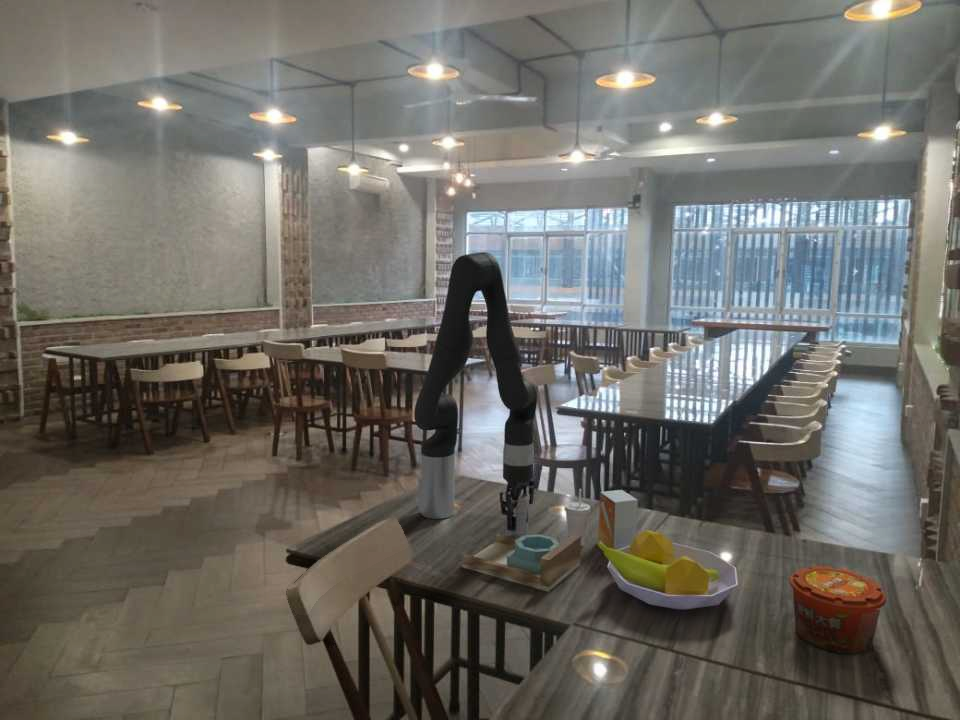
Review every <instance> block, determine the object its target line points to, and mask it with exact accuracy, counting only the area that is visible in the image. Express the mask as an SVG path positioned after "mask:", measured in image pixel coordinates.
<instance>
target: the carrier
mask: <svg viewBox="0 0 960 720" xmlns="http://www.w3.org/2000/svg"><path fill="white" fill-rule="evenodd" d="M559 544H560V543H559V542H558V540H557V539H556V537H554V536H553V537H552V536H548V535H544V534H528V535H525V536H522V537H520V538H519V539H517V540H516V541H515V551H513V552H512V553H510V554H509V555H508V556H507V566H511V567H514V568H518V569H522V570H525V571H529V572H533V573H536V574H540V566H541V558H542V557H543V556H544V555H546V554H547V553H548V552H550V551H551V550H552V549H554V548H555V547H556V546H558V545H559Z"/></svg>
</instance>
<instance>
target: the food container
mask: <svg viewBox="0 0 960 720" xmlns="http://www.w3.org/2000/svg"><path fill="white" fill-rule="evenodd" d="M788 583H789V585H790V586H791V588H792V597H793V611H794V612H793V613H794V627H795V632H796V634H797V635H798V636H799V637H800V638H801V639H802V640H803V641H805V642H806V643H808V644H809V645H812V646H814V647H817V648H818V649H821V650H825V651H828V652H831V653H832V652H833V653H837V654H844V655H852V654H853V655H854V654H861V653H864V652H867V651H868V650H870V649H871V648H872V646H873V642H874V638H875V634H876V629H877V626H878V625H877V624H878V622H879V617H880V612H881V610H882V609H883V608H884V606H885V604H886V602H887V596H886V593H885V591H884V590H883V589H882V588H881V587H880V585H879V584H878V583H877V582H876V581H874V580H873V579H871V578H865V577H863V575H862V574H860V573H858V572H855V571H852V570H848V569H844V568H838V569H835V568H832V567H831V566H825V565H812V566H809V568H804V567H802V568H798V569H797V570H796V571H795V572H793V573H792V574H791V575H790V577H789V581H788Z"/></svg>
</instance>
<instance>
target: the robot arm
mask: <svg viewBox="0 0 960 720" xmlns="http://www.w3.org/2000/svg"><path fill="white" fill-rule="evenodd" d="M477 292H481V294H482V297H483V299H484V302H485V305H486V314H487V315H486V330H485V335H486V337H485V338H486V345H487V349H488V352H489V355H490V357H491V360H492V363H493V366H494V369H495V374H496V375H495V376H496V383H497V389H498V394H499V397H500V399H501V402H502V404H503V405H504V406H505V407H506V409H508V410H509V415H508V417H507V419H506V420H505V424H504V443H503V444H504V445H503V452H502V478H503V480H505V481H506V483H507V484H506V485H507V486H506V488H505V489H506V490H505V491H504V492H503V491H501V492H500V493H499V499H500V500H499V502H500V511H501V515H502V516H506V526H507V529H508V530H510V531H515V530H516V513H517V508H518V507H519V506H520V498H521V497H522V496H524V495H525V496H527V495H528V510H529V509H530V505H533V503H534V496H535V487H536V481H535V480H533V479H534V466H535V465H534V464H535V463H534V461H535V459H534V458H535V457H534V456H535V451H534V421H535V417H536V410H537V404H538V390H537V387H536V385H535V383H534V382H532V380H530V379H528V378H523V374H522V367H523V363H524V361H523V357H522V354H521V351H520V349H519V345H518V343H517V339H516V336H515V334H514V331H513V327H512V323H511V319H510V313H509V307H508V303H507V302H508V301H507V298H506V292H505V287H504V281H503V275H502V270H501V266H500V264H499V262H498V260H497V258H496V257H495V256H494V255H493V254H491V253H490V252H487V251H482V252H474V253H469V254H468V253H467V254H463V255H460V256H458V257H457V258H456V259H455V260H454V262H453V264H452V267H451V270H450V275H449V279H448V286H447V293H446V300H445V305H444V310H443V313H442V317H441V322H440V326H439V329H438V332H437V336H436V339H435V342H434V346H433V349H432V354H431V355H432V356H431V358H430V359H431V360H430V363H429V366H428V369H427V372H426V375H425V379H424V381H423V384H422V386H421V389H420V391H419V394H418V397H417V399H416V402H415V406H414V412H413V413H414V414H413V415H414V417H413V418H414V423H415V425H416V426H417V428H418V429H419V430H421V431H434V430H435V431H434V433H433V434H432V435H431V436H430V437H428V438H426V439H425V440H423V441H422V442H421V444H420V478H419V479H418V481H417V499H418V500H417V506H418V508H417V510H418V511H417V513H418V514H421V516H423V517H424V518H427V519H433V520H436V519H437V520H439V519H447V518H451V517H452V516H454V515H455V507H456V506H455V500H456V499H455V495H456V494H455V492H456V491H455V487H456V486H455V481H456V480H455V478H456V477H455V474H456V473H455V472H456V471H455V468H456V465H455V464H456V463H455V461H456V460H455V456H456V455H455V452H456V450H455V449H456V445H457V442H458V423H459V409H458V405H457V401H456V399H455V398H454V396H453V395H451V394H448V393H447V394H446V393H444V394H443V392H444V390H445V389H446V388H447V386H448V385H449V384H450V383H451V382H452V381H453V379H454V378H456V377H457V376H458V375H459V373H460V372H461V371H462V370H463V368H464V367H465V366H466V364H467V362H468V359H469V356H470V355H471V354H470V353H471V351H472V346H473V343H474V334H473V328H472V324H471V321H470V310H471V306H472V302H473V300H474V297H475V294H476V293H477ZM511 500H517V501H516V503H512V502H511ZM512 506H513V507H514V508H513V511H512Z"/></svg>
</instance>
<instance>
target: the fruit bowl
mask: <svg viewBox="0 0 960 720" xmlns="http://www.w3.org/2000/svg"><path fill="white" fill-rule="evenodd" d="M596 545H597V547H598V548H599V549H600V550H602V551H603V555H604V556H605V558H606V559H607V561H608V564H607V569H608V571H609V573H610V574H611V575H612V578H613V579H614V581H615V583H616V585H617V586H618V588H619V590H622V591H623V592H625V593H627V594H629V595H631V596H633V597H635V598H636V599H638V600H641V601H642V602H645V603H646V604H648V605H651V606H655V607H662V608H667V609H672V610H673V609H675V610H679V611H682V610H691V609H699V608H705V607H706V608H707V607H712V606H718V605H720V604H721V602H723V600H724V599H726V597H728V595H729V594H731V593H732V591H733V590H734V589H736V588H737V586H738V584H739V583H738V574H737V567H735V566H734V565H733V564H731V563H729V562H728V561H727V560H724V559H723V558H721V557H720V556H718V555H716V554H715V553H714V552H712V551H708V550H704V549H700V548H696V547H691V546H688V545H683V544H679V543H675V542H672V540H671V539H669V538H668V537H667V536H666V535H664V533H661V532H657V531H652V530H649V529H644V530H643V531H642V532H640V533H639V534H638V533H637V535H636V536H635V537H634V539H633V541H632V543H631V545H630V546H627V547H624V548H621V549H618V550H615V549H612V548H609V547H606V546H605V545H604V544H603V543H602V542H599V541H598V542H597V543H596Z"/></svg>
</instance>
